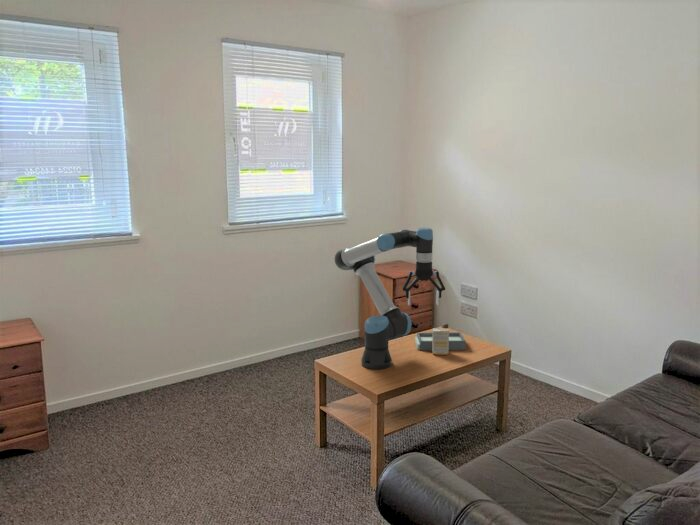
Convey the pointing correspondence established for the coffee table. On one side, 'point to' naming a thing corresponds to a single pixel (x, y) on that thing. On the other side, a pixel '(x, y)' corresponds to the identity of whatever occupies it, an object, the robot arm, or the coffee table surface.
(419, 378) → the coffee table surface
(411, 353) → the coffee table surface
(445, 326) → the peg
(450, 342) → the box
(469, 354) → the coffee table surface
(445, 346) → the supplement box
